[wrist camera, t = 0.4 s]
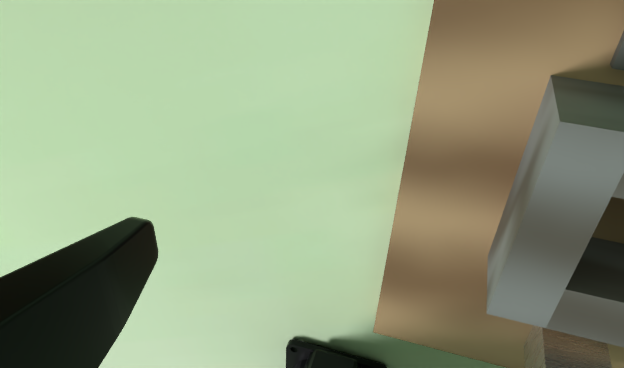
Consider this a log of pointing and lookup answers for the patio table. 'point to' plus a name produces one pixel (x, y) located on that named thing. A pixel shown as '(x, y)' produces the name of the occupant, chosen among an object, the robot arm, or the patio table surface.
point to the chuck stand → (512, 182)
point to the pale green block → (563, 350)
